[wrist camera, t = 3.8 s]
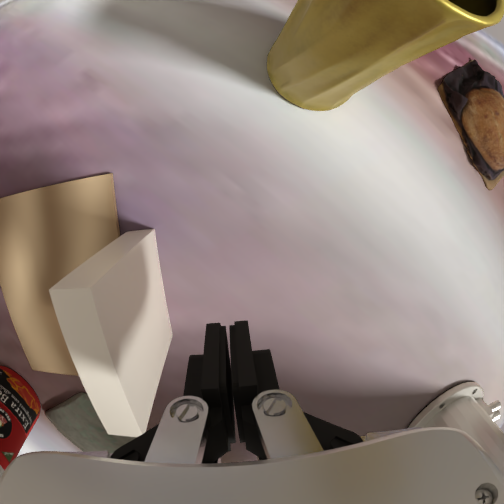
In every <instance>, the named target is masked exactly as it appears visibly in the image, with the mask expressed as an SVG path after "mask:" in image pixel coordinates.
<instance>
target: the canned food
mask: <svg viewBox="0 0 504 504" xmlns="http://www.w3.org/2000/svg"><path fill="white" fill-rule="evenodd" d="M40 409H41V406H40V401H39V399H38V397H37V395H36V393H35V392H34V390H33V389H32V387H31V386H30V385H29V384H28V383H27V382H26V381H25V380H24V379H23V378H22V377H21V376H20V375H19V374H17V373H16V372H15V371H13V370H11V369H9V368H7V367H4V366H0V477H1V476H2V474H3V473H4V471H5V469H6V468H7V466H8V465H9V464H10V463H11V462H12V461H13V460H14V459H15V458H16V457H17V455H18V453H19V451H20V449H21V447H22V446H23V444H24V442H25V440H26V438H27V436H28V435H29V433H30V431H31V429H32V428H33V426H34V424H35V422H36V421H37V419H38V417H39V414H40Z"/></svg>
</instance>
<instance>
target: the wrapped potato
mask: <svg viewBox="0 0 504 504" xmlns="http://www.w3.org/2000/svg"><path fill="white" fill-rule="evenodd" d="M438 91H439V93H440V96H441V98H442V100H443V102H444V104H445V106H446V108H447V110H448V112H449V114H450V117H451V118H452V120H453V122H454V124H455V127H456V128H457V130H458V132H459V134H460V136H461V138H462V140H463V142H464V144H465V146H466V147H467V148H468V151H467V153H468V154H469V156H470V158H471V159H472V162H473V165H474V166H475V167H476V168H477V170H478V172H479V174H480V175H481V177H482V179H483V181H484V183H485V185H486V188H487V189H488V190H492V189H493V188H494V187H495V186H496V185H497V183H498V182H499V181H500V179H501V178H502V177H503V176H504V95H503V92H502V86H501V84H500V83H499V81H497V80H496V79H495V76H492V75H491V74H490V73H488V72H485V71H483V70H482V69H481V67H480V66H479V65H478V63H477V61H476V60H471V61H469V62H468V63H467V64H465V65H464V66H462V67H459V68H457V69H456V70H454V71H452V72H450V73H449V74H447V75H446V77H445V78H444V80H443V82H442V84H441V85H440V86H439V87H438Z"/></svg>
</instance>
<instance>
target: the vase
mask: <svg viewBox="0 0 504 504" xmlns="http://www.w3.org/2000/svg"><path fill="white" fill-rule="evenodd" d="M503 15H504V0H298V1H297V3H296V5H295V7H294V9H293V11H292V12H291V14H290V16H289V18H288V20H287V22H286V24H285V26H284V28H283V29H282V31H281V33H280V35H279V37H278V39H277V40H276V42H275V43H274V45H273V46H272V48H271V50H270V52H269V54H268V57H267V71H268V75H269V78H270V80H271V82H272V84H273V86H274V87H275V89H276V90H277V91H278V92H279V94H280V95H282V96H283V97H284V98H285V99H287V100H288V101H290V102H291V103H293V104H295V105H297V106H299V107H301V108H304V109H308V110H314V111H326V110H331V109H334V108H337V107H338V106H340V105H342V104H344V103H345V102H346V101H347V100H348V99H349V98H350V97H351V96H352V95H353V94H355V93H356V92H358V91H360V90H361V89H363V88H365V87H366V86H368V85H370V84H371V83H373V82H374V81H376V80H378V79H379V78H381V77H382V76H384V75H386V74H388V73H390V72H392V71H394V70H395V69H397V68H399V67H400V66H402V65H404V64H406V63H408V62H411V61H413V60H415V59H417V58H419V57H421V56H423V55H425V54H427V53H429V52H432V51H434V50H436V49H438V48H440V47H443V46H445V45H447V44H449V43H452V42H454V41H456V40H458V39H459V38H461V37H463V36H465V35H467V34H470V33H473V32H475V31H478V30H481V29H483V28H486V27H490V26H493V25H495V24H497V23H499V22H500V21H501V19H502V17H503Z"/></svg>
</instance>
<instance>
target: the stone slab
mask: <svg viewBox="0 0 504 504" xmlns="http://www.w3.org/2000/svg"><path fill="white" fill-rule="evenodd" d="M45 415H46V416H47V418H48V419H49V420H50V421H51V422H52V423H53V424H54V426H55V427H56V428H57V429H58V430H59V431H60V432H61V433H62V434H63V435H64V436H65V437H66V438H68V439H69V440H70V441H71V442H72V443H73V444H75V445H76V446H77V447H78V448H80V449H81V450H82V451H83V452H91V451H108V452H109V453H113V452H114V451H115V450H117V449H118V448H119V447H121V446H123V445H125V444H126V443H128V442H130V441H132V440H133V439H135V438H137V437H129V436H119V435H110V434H108V433H107V431H106V430H105V428H104V426H103V424H102V422H101V420H100V418H99V416H98V415H97V413H96V411H95V409H94V407H93V405H92V403H91V401H90V399H89V396H88V394H86V393H78V394H76V395H74V396H73V397H71V398H70V399H68V400H66V401H65V402H63V403H61V404H59V405H57V406H55V407H53V408H52V409H50V410H48V411H46V412H45Z"/></svg>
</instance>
